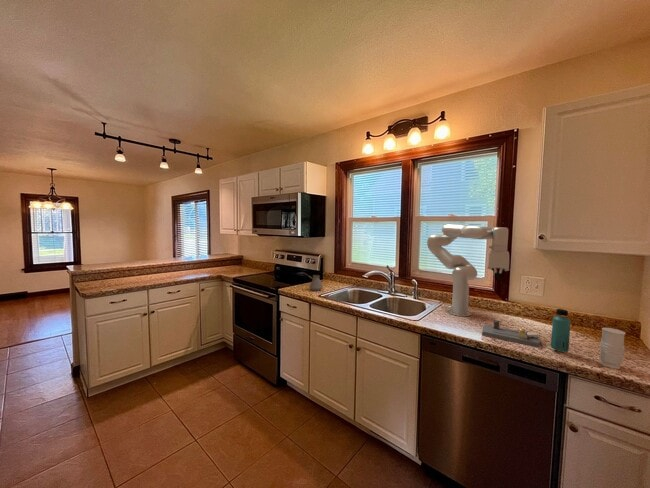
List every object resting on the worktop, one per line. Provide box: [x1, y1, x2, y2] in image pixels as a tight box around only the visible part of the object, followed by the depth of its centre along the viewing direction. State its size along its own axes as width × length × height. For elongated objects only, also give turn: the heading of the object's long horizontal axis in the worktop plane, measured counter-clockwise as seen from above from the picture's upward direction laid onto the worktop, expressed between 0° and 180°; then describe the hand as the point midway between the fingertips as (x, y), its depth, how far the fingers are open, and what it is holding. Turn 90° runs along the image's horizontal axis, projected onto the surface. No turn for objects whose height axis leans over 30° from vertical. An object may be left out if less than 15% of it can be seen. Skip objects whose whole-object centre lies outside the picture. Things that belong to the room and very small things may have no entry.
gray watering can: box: [300, 271, 323, 292], centre depth 235 cm, size 21×12×15 cm, turn 62°
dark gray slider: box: [493, 319, 500, 329], centre depth 146 cm, size 3×3×4 cm
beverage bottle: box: [550, 308, 572, 353], centre depth 123 cm, size 6×7×20 cm
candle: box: [598, 327, 627, 370], centre depth 111 cm, size 7×7×15 cm
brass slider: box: [518, 328, 526, 339], centre depth 134 cm, size 3×3×4 cm
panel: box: [481, 324, 541, 348], centre depth 139 cm, size 24×13×3 cm, turn 56°
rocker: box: [527, 331, 539, 338], centre depth 134 cm, size 4×4×1 cm
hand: (497, 279), depth 155 cm, fingers closed
